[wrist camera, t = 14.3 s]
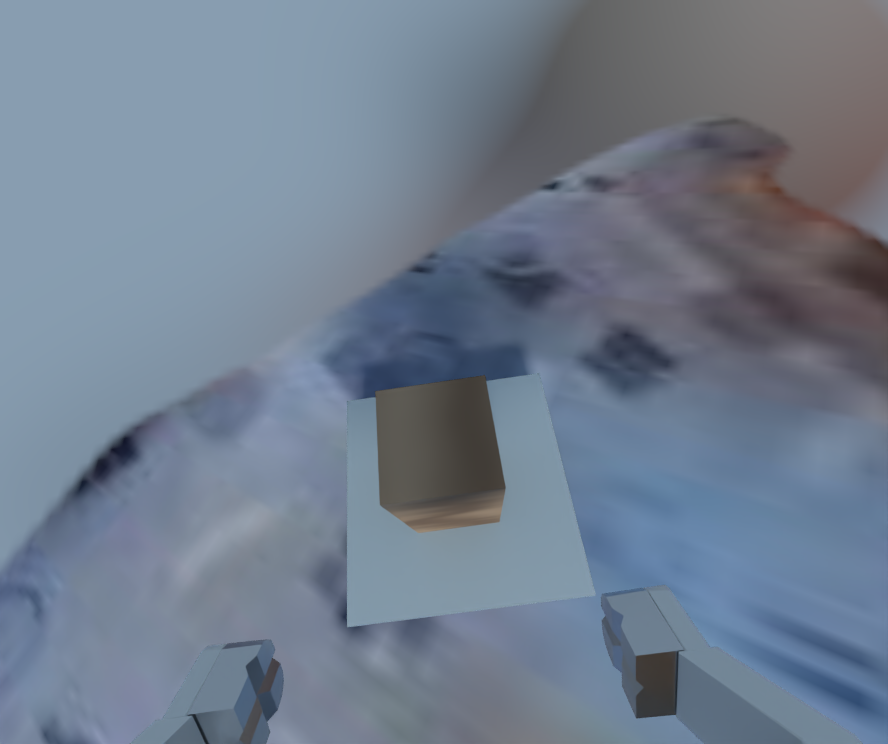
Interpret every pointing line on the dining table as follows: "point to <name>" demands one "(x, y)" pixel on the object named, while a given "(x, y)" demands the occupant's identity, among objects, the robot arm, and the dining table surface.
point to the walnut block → (439, 455)
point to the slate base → (467, 548)
